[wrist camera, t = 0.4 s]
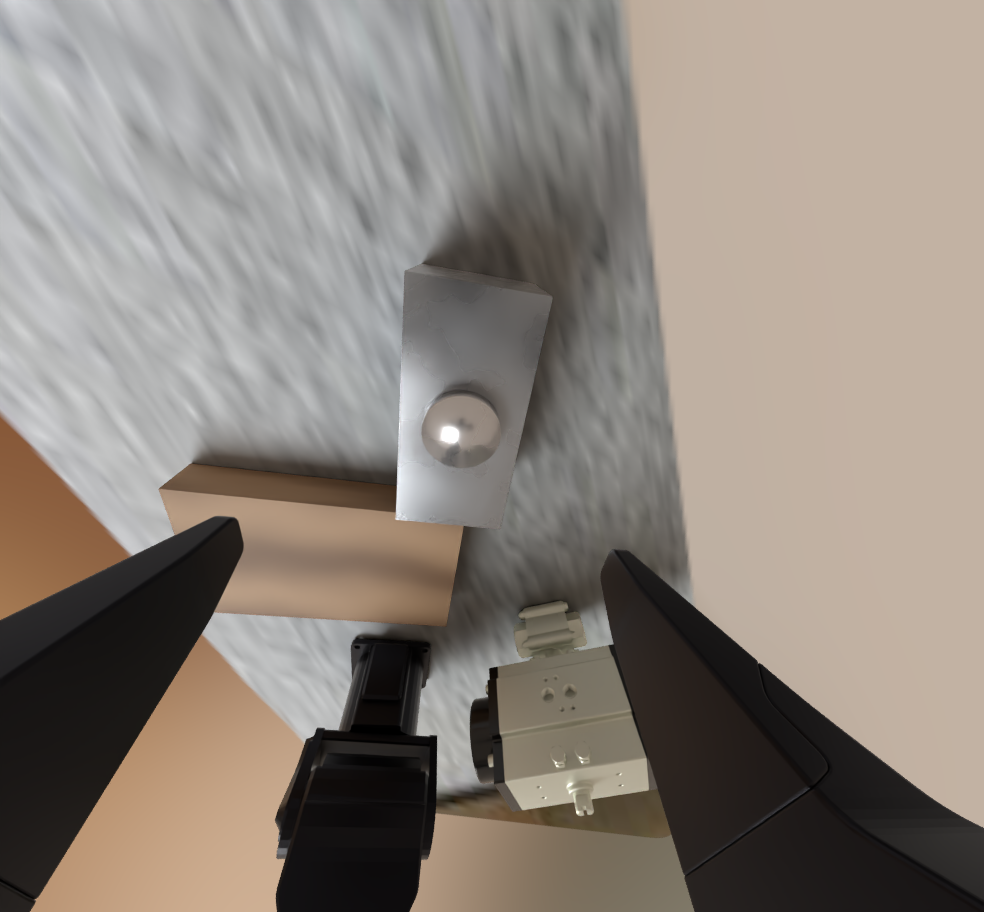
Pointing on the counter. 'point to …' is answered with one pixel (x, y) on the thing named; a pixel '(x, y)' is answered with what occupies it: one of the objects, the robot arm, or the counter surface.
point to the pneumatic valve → (558, 720)
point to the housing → (464, 392)
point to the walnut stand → (321, 546)
